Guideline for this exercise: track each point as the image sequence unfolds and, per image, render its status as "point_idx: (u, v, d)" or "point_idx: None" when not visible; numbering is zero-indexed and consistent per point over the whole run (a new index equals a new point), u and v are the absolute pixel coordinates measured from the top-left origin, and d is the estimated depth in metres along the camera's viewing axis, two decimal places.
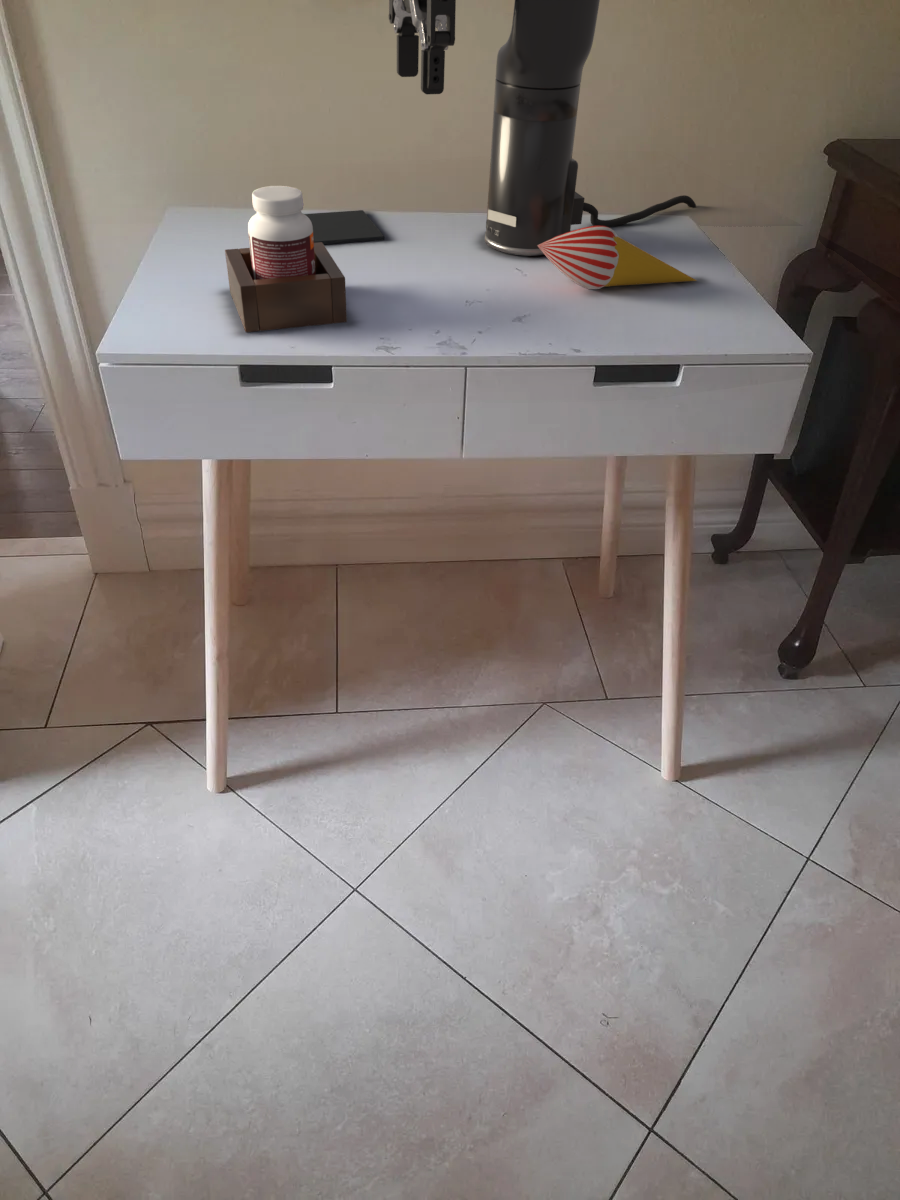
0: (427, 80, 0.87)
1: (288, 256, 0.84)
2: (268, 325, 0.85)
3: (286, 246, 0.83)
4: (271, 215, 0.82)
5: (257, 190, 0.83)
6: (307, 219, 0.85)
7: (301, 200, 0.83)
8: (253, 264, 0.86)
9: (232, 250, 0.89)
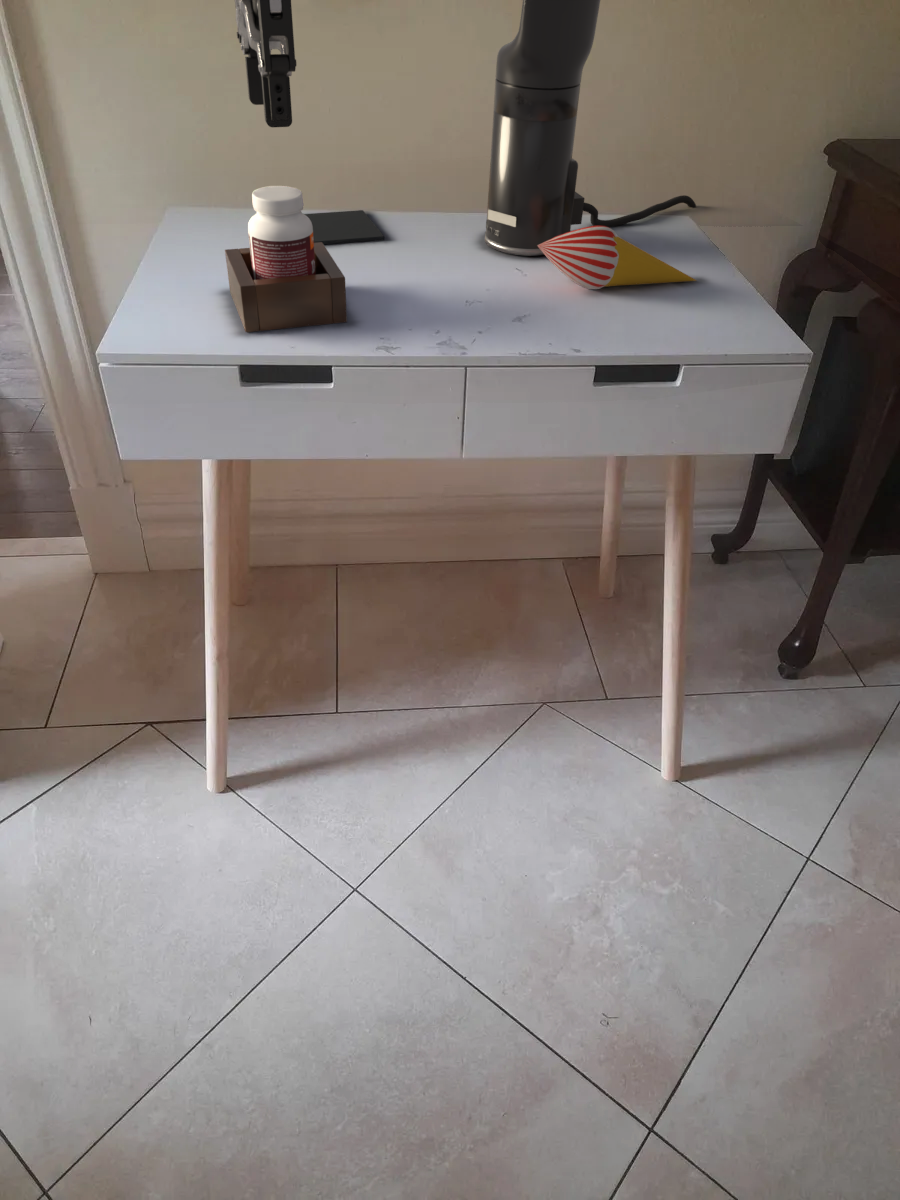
0: (270, 111, 0.74)
1: (288, 256, 0.84)
2: (268, 325, 0.85)
3: (286, 246, 0.83)
4: (271, 215, 0.82)
5: (257, 190, 0.83)
6: (307, 219, 0.85)
7: (301, 200, 0.83)
8: (253, 264, 0.86)
9: (232, 250, 0.89)
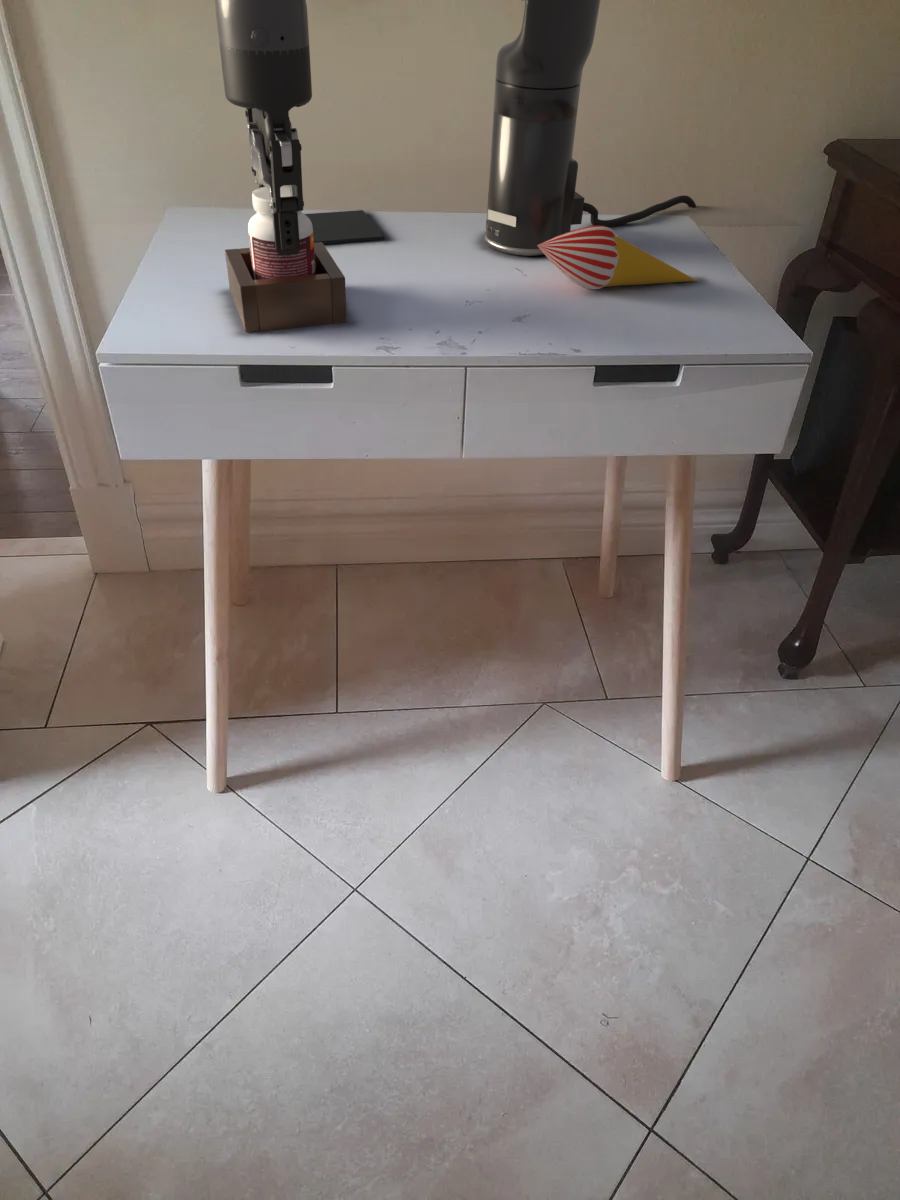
0: (280, 241, 0.82)
1: (288, 256, 0.84)
2: (268, 325, 0.85)
3: None
4: (271, 215, 0.82)
5: (257, 190, 0.83)
6: (307, 219, 0.85)
7: None
8: (253, 264, 0.86)
9: (232, 250, 0.89)
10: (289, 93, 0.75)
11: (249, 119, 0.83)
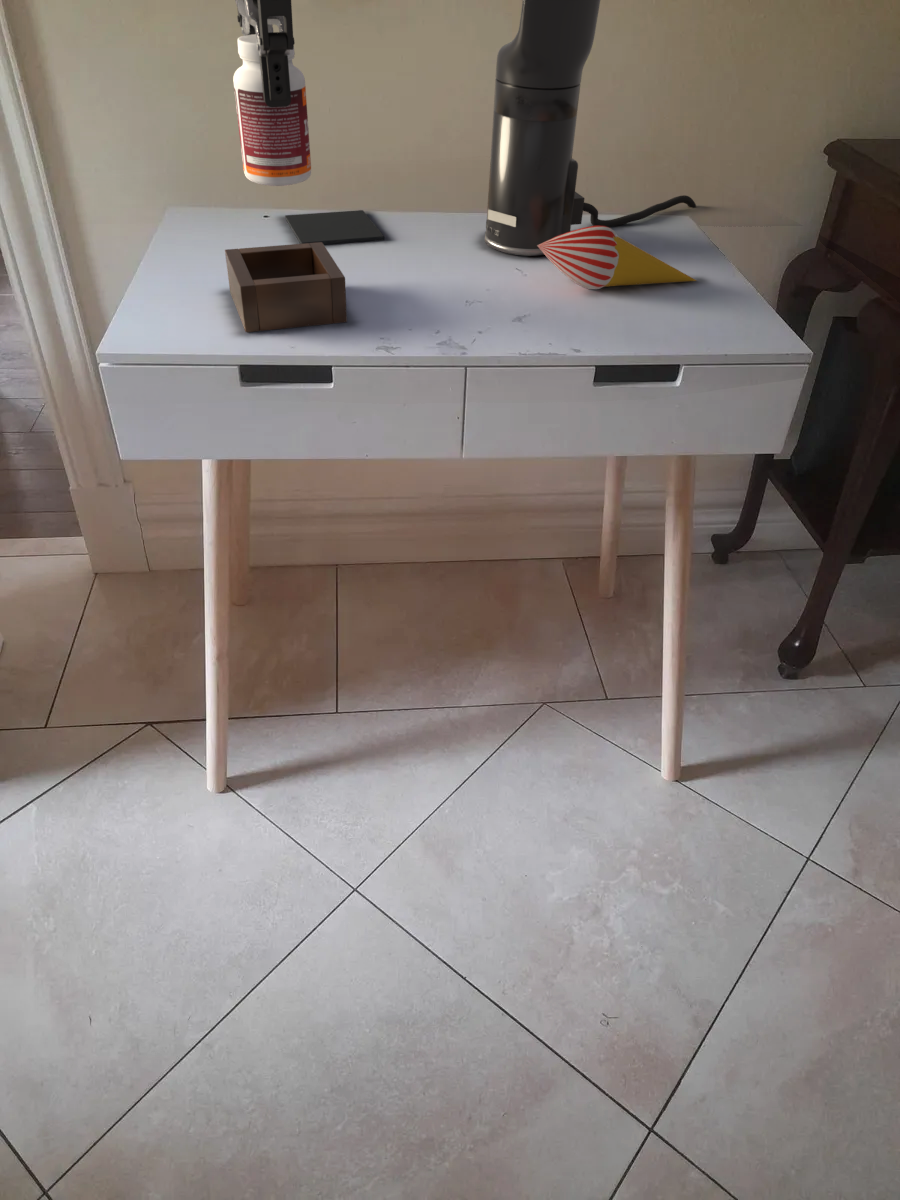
0: (269, 91, 0.74)
1: (278, 110, 0.76)
2: (268, 325, 0.85)
3: None
4: (259, 62, 0.74)
5: (243, 36, 0.75)
6: (299, 71, 0.76)
7: None
8: (240, 123, 0.78)
9: (232, 250, 0.89)
10: None
11: None
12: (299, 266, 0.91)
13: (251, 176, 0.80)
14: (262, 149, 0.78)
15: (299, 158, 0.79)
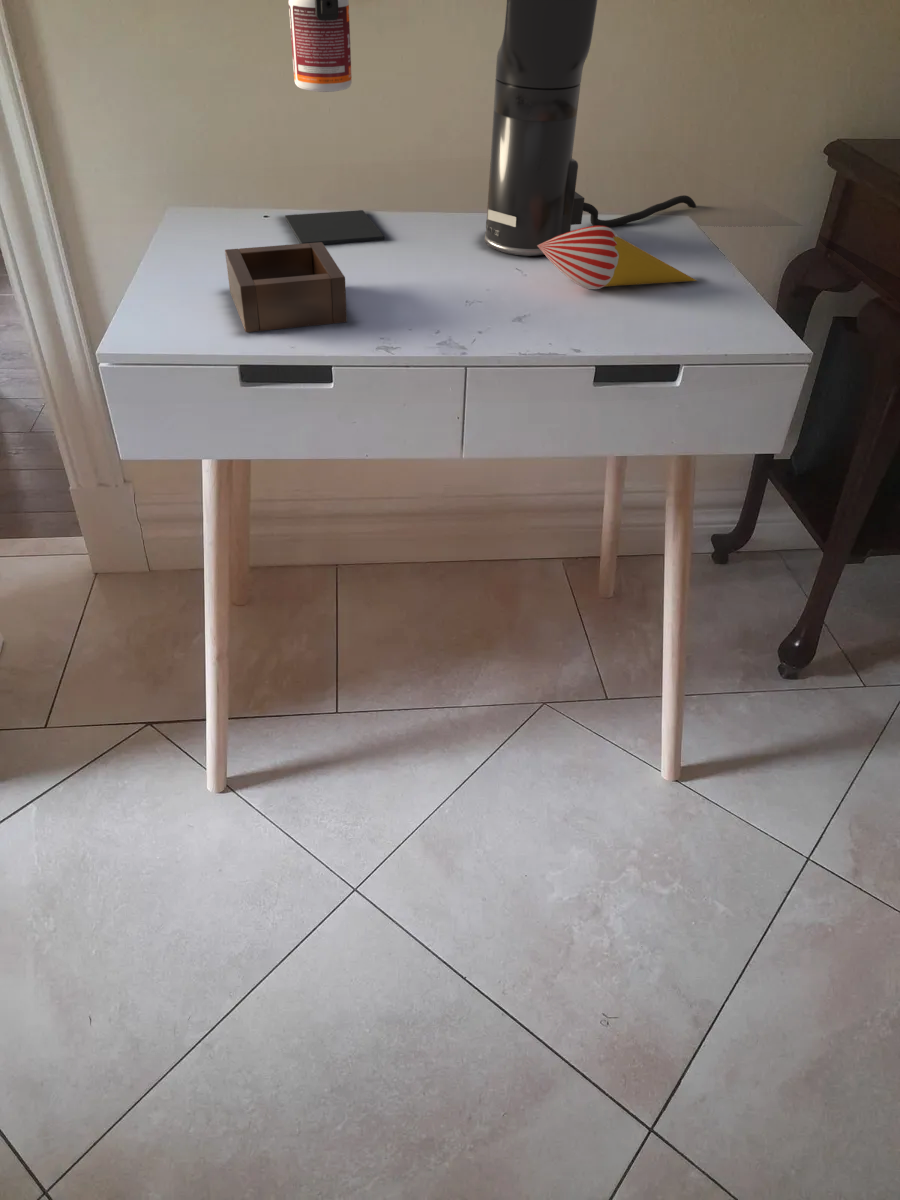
0: (320, 6, 0.88)
1: (327, 24, 0.90)
2: (268, 325, 0.85)
3: None
4: None
5: None
6: None
7: None
8: (293, 36, 0.92)
9: (232, 250, 0.89)
10: None
11: None
12: (299, 266, 0.91)
13: (301, 84, 0.94)
14: (312, 58, 0.92)
15: (343, 67, 0.93)
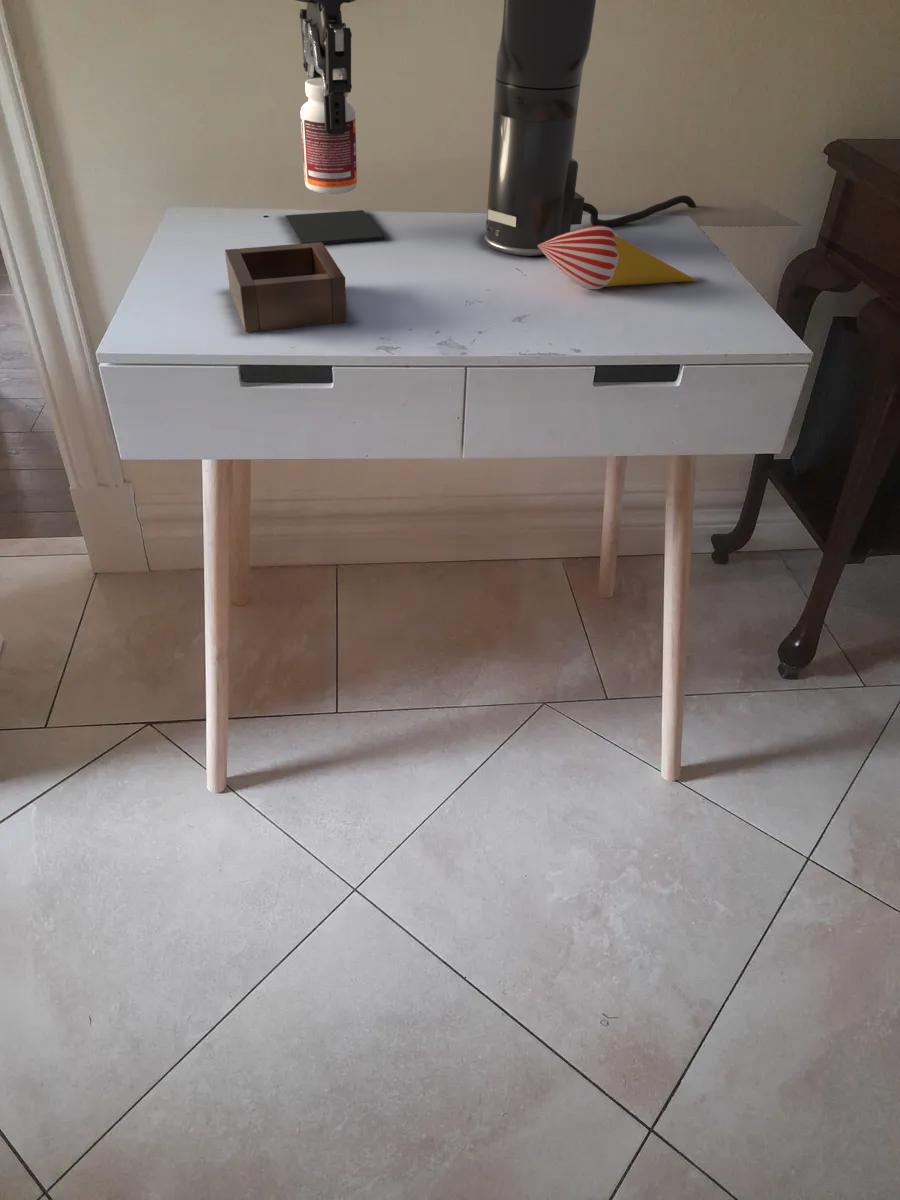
0: (329, 122, 0.97)
1: (335, 136, 0.99)
2: (268, 325, 0.85)
3: None
4: (321, 100, 0.97)
5: (309, 80, 0.98)
6: (351, 106, 1.00)
7: None
8: (304, 145, 1.01)
9: (232, 250, 0.89)
10: None
11: (303, 20, 0.98)
12: (299, 266, 0.91)
13: (311, 186, 1.03)
14: (321, 165, 1.01)
15: (349, 173, 1.02)
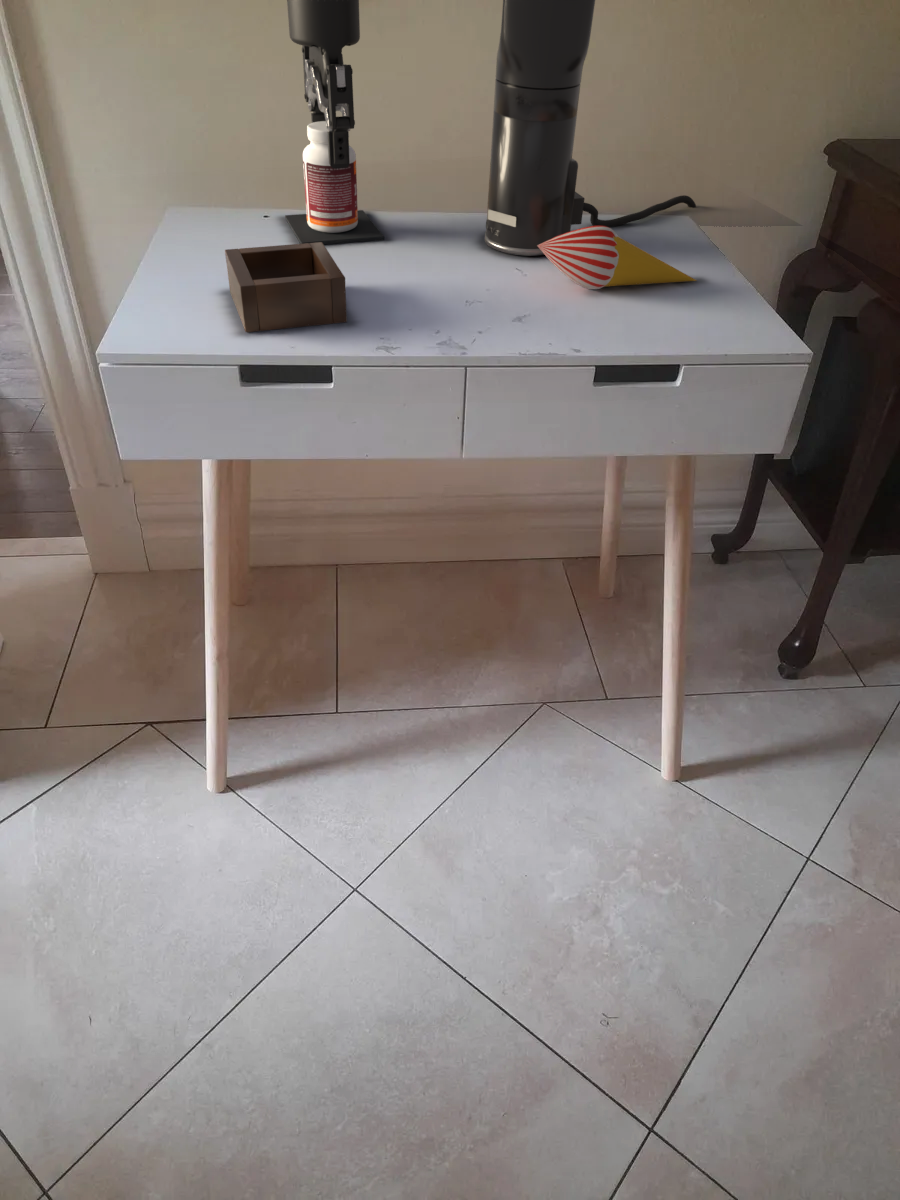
0: (333, 157, 0.99)
1: (336, 178, 1.02)
2: (268, 325, 0.85)
3: (335, 170, 1.01)
4: (323, 144, 1.00)
5: (311, 124, 1.01)
6: (351, 148, 1.02)
7: None
8: (306, 187, 1.04)
9: (232, 250, 0.89)
10: (343, 33, 0.93)
11: (305, 55, 1.01)
12: (299, 266, 0.91)
13: (313, 225, 1.06)
14: (323, 206, 1.04)
15: (350, 212, 1.05)
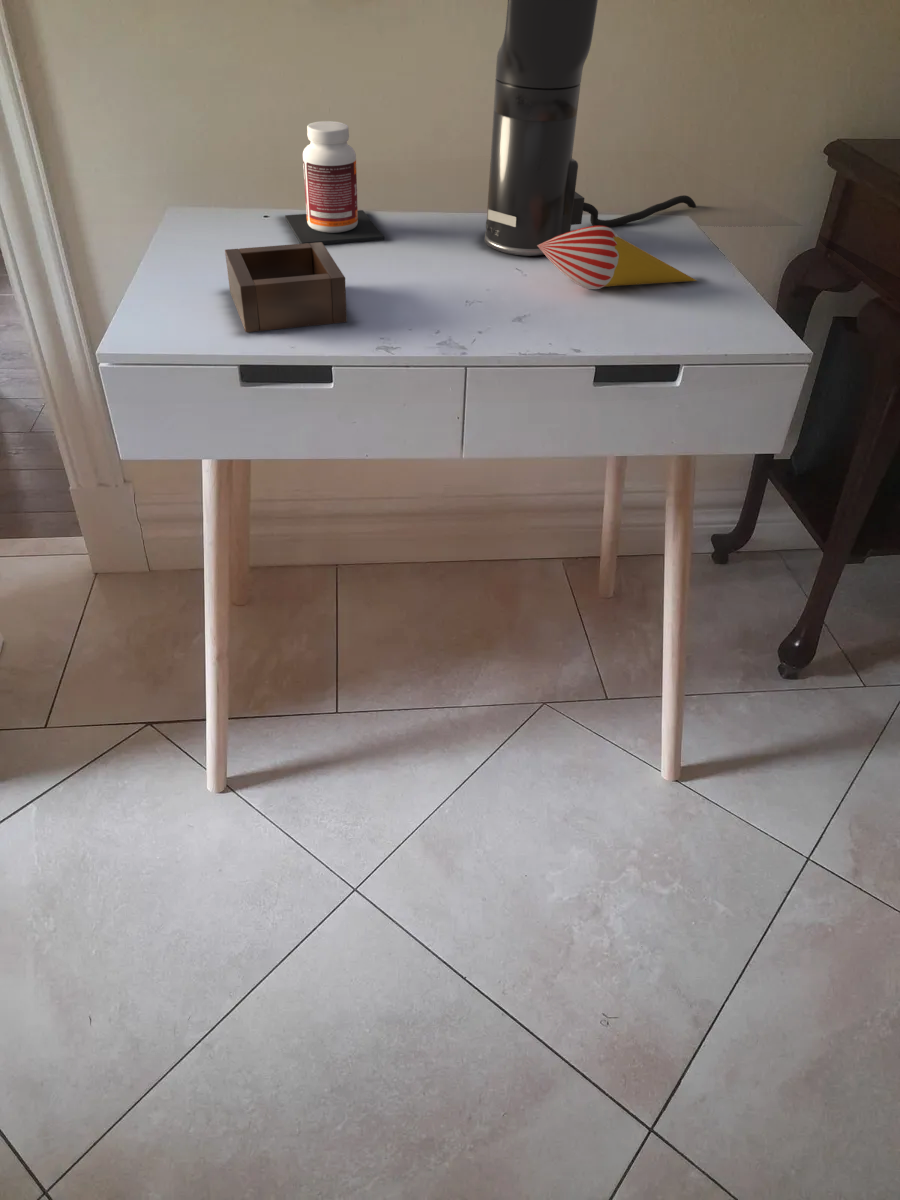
0: None
1: (336, 178, 1.02)
2: (268, 325, 0.85)
3: (335, 170, 1.01)
4: (323, 144, 1.00)
5: (311, 124, 1.01)
6: (351, 148, 1.02)
7: (347, 132, 1.01)
8: (306, 187, 1.04)
9: (232, 250, 0.89)
10: None
11: None
12: (299, 266, 0.91)
13: (313, 225, 1.06)
14: (323, 206, 1.04)
15: (350, 212, 1.05)
